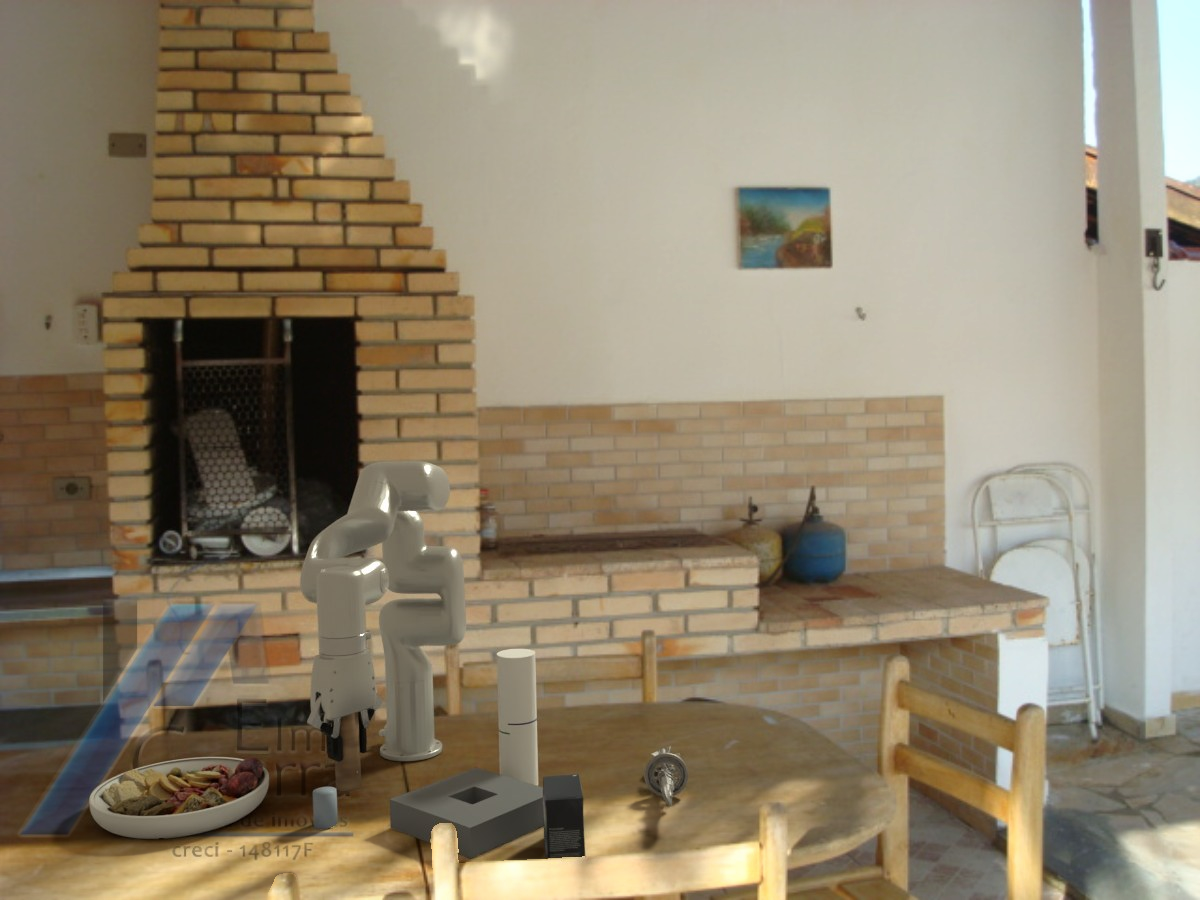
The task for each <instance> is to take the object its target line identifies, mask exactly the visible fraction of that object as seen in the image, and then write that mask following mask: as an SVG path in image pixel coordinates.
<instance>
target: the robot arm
mask: <svg viewBox="0 0 1200 900" xmlns="http://www.w3.org/2000/svg"><path fill="white" fill-rule="evenodd" d="M450 487H451V486H450V480H449V476H448V474H447V472H446V471H445V469H444V468H442V467H440V466H438V465H437V464H436V465H435V464H433V463H431V462H428V461H422V460H421V461H420V460H412V461H411V460H405V461H403V460H401V461H399V460H398V461H377V462H376V461H375V462H372V463H370V464H368V465H366V466H365V467H364V468H363V469H362V470H361V472H360V473H359V476H358V479H357V482H356V485H355V488H354V491H353V494H352V498H351V501H350V504H349V506H348V509H347V513H346V514H345V515H343V516H342V517H340V518H339V519H336V520H335V521H334V522H332V523H331V524H330V525H328V526H327V527H326V528H324V529H323V530H321V532H319V533H318V534H317V535H316V536H315V537H314V538H313V539H312V541H311V543H310V545H309V547H308V550H307V553H306V555H305V558H304V560H303V561H304V562H303V564H302V568H301V572H300V577H299V578H300V579H299V585H300V592H301V595H302V596H303V597H304V599H305V600H307V601H308V602H310V603H311V604H312V603H313V604H316V610H317V612H316V613H317V615H316V616H317V633H318V635H317V636H318V654H317V655H315V656H314V657H313V658H314V659H313V662H312V667H311V668H312V670H311V678H310V713H309V716H308V719H307V721H306V723H307V725H309V726H311V727H312V728H313V727H314V728H316V729H317V730H318V731H320V732H321V733H322V734H323V735H324V736H326V737H325V738H326V753H327V757H328V759H329V760H332V761H334V762H335V761H338V762H340V761H342V760H343V745H342V737H340V736H339V729H340V720H341V718H342V717H345V716H347V715H349V714H352V713H355V712H358V716H359V741H360V754H365V753H367V752H368V751H367V743H368V741H367V740H368V739H367V729H368V728H369V727H370V721H371V719H372V718H373V716H374V715H375V712H376V711H377V710H378V709H379V708H380V707H381V705H383V700H382V699H381V697H380V696H379V694H378V693H377V684H376V674H375V667H374V662H373V658H372V654H371V650H370V649H369V647H368V645H367V644H368V640H370V639H371V638H372V633H371V631H369V630H367V623H366V622H367V618H366V617H367V615H366V605H370V604H374V603H376V602H378V601H380V600H381V599H382V598H383V597H384V595H385V594H386V592H387V591H388V590H389V591H390V592H392V593H396V594H406V595H407V594H408V595H409V594H410V595H411V594H412V595H413V594H415V595H423V594H424V595H426V594H427V595H428V594H429V595H431V594H435V595H438V596H439V597H440V598H436V597H435V598H424V597H423V598H421V597H420V598H419V597H418V598H398V599H393V600H389V601H388V602H386V603H385V604H384V605H383V606H382V607H381V609H380V611H379V615H378V625H379V626H378V627H379V631H380V632H379V633H380V637H381V642H382V649H383V656H384V669H385V670H384V672H385V673H384V675H385V679H384V680H385V704H386V708H385V709H386V710H385V711H386V724H385V725H384V726H383V728H380V729H379V732H378V735H379V736H380V737H383V738H384V743H383V744H382V745H381V746H380V747H379V754H380V756H381V757H382V758H384V759H387V761H388V760H390V761H395V762H416V761H422V760H426V759H430V758H433V757H436V756H437V755H439V754H440V753H442V751H443V743H442V742H441V741H440V740H438V739H436V738H435V711H434V705H435V703H434V680H433V678H434V676H433V675H434V673H433V666H432V665H433V664H432V661H431V659H430V658H429V656H428V655H427V653H426V652H425V651H424V650H423V649H422V647H428V646H429V647H430V646H431V647H434V646H435V647H437V646H440V647H441V646H442V647H444V646H454V645H455V646H456V645H459V644H460V643H461V642H462V641H463V640H464V639H465V636H466V632H467V609H466V590H465V589H466V587H465V572H464V563H463V562H464V561H463V558H462V555H461V554H460V552H459V551H458V550H457V549H456V548H454V547H452V546H445V545H444V546H442V545H439V546H438V545H434V546H429V545H427V544H426V541H425V525H424V521H423V518H422V517H421V515H420V513H419V512H428V511H429V512H438V511H441V510H442V509H444V508H445V507H446V505H447V504H448V501H449V498H450V493H451V488H450ZM379 544H381V549H382V561H381V560H379V559H376V558H372V557H370V558H369V557H347V556H349V555H352V554H355V553H358V552H361V551H364V550H367V549H369V548H372V547H375V546H377V545H379ZM322 715H324V716H323V721H322V720H321V717H322Z"/></svg>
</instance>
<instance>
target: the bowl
mask: <svg viewBox="0 0 1200 900" xmlns="http://www.w3.org/2000/svg"><path fill="white" fill-rule="evenodd" d="M269 785H270V775H269V772H268V770H267V769H266V768H265V767H264V766H263V762H262V761H261V760H259V759H258V758H257V757H248V758H244V759H243V758H238V757H227V756H201V757H188V758H180V759H179V758H178V759H173V760H166V761H161V762H157V763H152V764H148V765H144V766H140V767H136V768H134V769H131V770H128V771H125V772H122V773H119V774H117V775H115V776H113V777H111V778H109V779H107V780H105V781H103V782H102V783H100V784H99V785H97V787H95V788H94V789H93V791H92V792H91V794H90V795H89V800H88V804H89V812H90V814H91V816H92V819H93V820H94V821H95V822H96V823H97V824H98V825H99V826H100V827H101V828H102V829H104V830H106V831H108V832H109V833H112V834H115V835H118V836H122V837H125V838H132V839H133V838H134V839H142V840H143V839H145V840H159V838H164V839H172V838H181V837H182V838H183V837H187V836H193V835H198V834H204V833H206V832H211V831H214V830H218V829H220V828H222V827H225V826H228V825H230V824H232V823H235V822H237V821H239V820H241V819H242V818H245V817H246V816H247V815H249V814H250V813H252V812H253V811H254V810H255V809H257V808H258V807H259V806H260V804H261V803H262V801H264V799H265V797H266V795H267V792H268V790H269Z"/></svg>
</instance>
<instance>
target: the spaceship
mask: <svg viewBox="0 0 1200 900" xmlns="http://www.w3.org/2000/svg"><path fill="white" fill-rule="evenodd" d="M670 749H671V745H669V746H667V747H666V748H661V749H660V748H658V750H657V751H655V752H653V753H651V756H653V757H651V758H650V760H649V761H648V762H647V764H646V765H645V768H644V773H643V774H644V781H645V785H647V788H648V789H649V791H651V792H652V793H653V794H655V795H657V796H658V797H661V796H662V797H661V798H662V800H663V801H664V802H665V803H666V804H667V805H668V807H672V805H673V797H675V796H677V795H679V794H680V793H681V792H683V790H684V789H685V788H686V786H687V785H688V780H689V769H688V766H687V765H686V762H685V761H684V760H683V759H682V758H681V752H678V753H670ZM659 767H660V770H659V769H658V768H659ZM655 773H657V776H655ZM675 774H677V775H678V776H677V777H676V776H675ZM657 781H658V782H657ZM675 781H676V782H675Z"/></svg>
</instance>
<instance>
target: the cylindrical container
mask: <svg viewBox="0 0 1200 900" xmlns="http://www.w3.org/2000/svg"><path fill="white" fill-rule="evenodd" d="M536 669H537V668H536V651H535V650H533V649H527V648H510V649H509V648H508V649H504V650H501V651H498V652H497V653H496V672H497V675H496V677H497V679H496V681H497V684H496V685H497V709H498V710H497V711H498V712H497V713H498V714H497V717H498V719H497V720H498V750H499V751H498V752H499V753H498V754H499V755H498V757H499V762H498V763H499V774H500V775H503V776H507V777H510V778H513V779H517V780H520V781H523V782H527V783H530V784H533V785H537V786H539V761H538V760H539V759H538V757H539V756H538V755H539V754H538V753H539V752H538V721H537V720H538V719H537V717H538V716H537V715H538V713H537V675H536V671H537V670H536Z"/></svg>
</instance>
